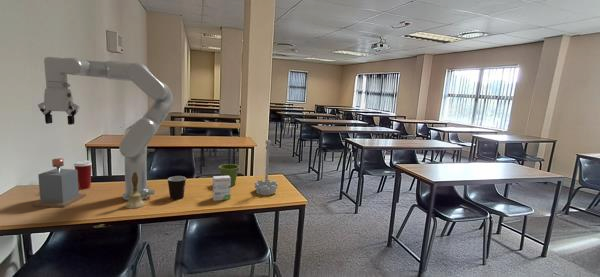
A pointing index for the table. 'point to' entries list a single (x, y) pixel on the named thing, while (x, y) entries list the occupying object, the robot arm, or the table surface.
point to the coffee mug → (176, 187)
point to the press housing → (58, 188)
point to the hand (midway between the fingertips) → (60, 123)
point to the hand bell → (135, 195)
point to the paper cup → (83, 174)
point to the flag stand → (266, 178)
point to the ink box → (221, 187)
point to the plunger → (57, 163)
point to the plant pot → (229, 171)
